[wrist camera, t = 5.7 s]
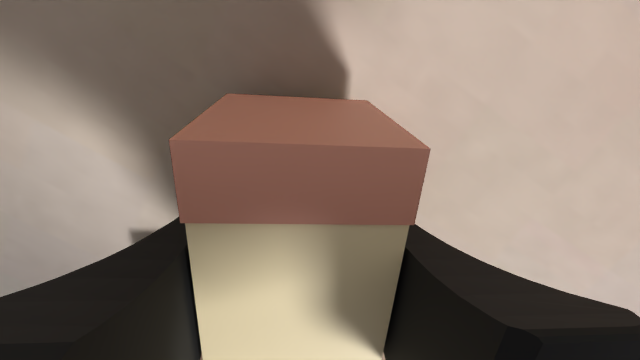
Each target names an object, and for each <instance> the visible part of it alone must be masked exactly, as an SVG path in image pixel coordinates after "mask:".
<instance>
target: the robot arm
mask: <svg viewBox="0 0 640 360" xmlns="http://www.w3.org/2000/svg"><path fill="white" fill-rule="evenodd" d="M383 352H384V356H385V360H640V317H639V316H637V315H636V314H635V313H633V312H632V311H630V310H628V309H624V308H621V307H617V306H614V305H610V304H606V303H603V302H599V301H595V300H592V299H588V298H584V297H581V296H577V295H573V294H570V293H566V292H563V291H560V290H557V289H554V288H551V287H548V286H545V285H542V284H539V283H536V282H533V281H530V280H527V279H525V278H522V277H519V276H516V275H514V274H511V273H509V272H506V271H504V270H502V269H499V268H497V267H494V266H492V265H489V264H487V263H485V262H483V261H480V260H478V259H476V258H474V257H472V256H470V255H468V254H466V253H464V252H462V251H460V250H458V249H456V248H454V247H452V246H450V245H448V244H446V243H445V242H443V241H441V240H440V239H438V238H436V237H435V236H433V235H431V234H430V233H428V232H426V231H425V230H423V229H422V228H420V227H419V226H417V225H415V224H414V225H409V230H408V235H407V239H406V244H405V249H404V254H403V259H402V264H401V268H400V273H399V278H398V283H397V288H396V292H395V297H394V302H393V307H392V312H391V317H390V321H389V326H388V331H387V336H386V341H385V345H384V350H383ZM201 354H202V350H201V343H200V335H199V327H198V319H197V312H196V304H195V296H194V289H193V281H192V273H191V265H190V258H189V250H188V242H187V235H186V227H185V223H180V218H179V217H178V218H177V219H175V220H174V221H172V222H171V223H169V224H167V225H166V226H164V227H162V228H161V229H159V230H157V231H156V232H154V233H152V234H151V235H149V236H147V237H146V238H144V239H142V240H141V241H139V242H137V243H135V244H133V245H131V246H129V247H127V248H125V249H123V250H121V251H119V252H117V253H115V254H113V255H111V256H109V257H107V258H104V259H102V260H100V261H98V262H95V263H93V264H90V265H88V266H85V267H83V268H80V269H78V270H76V271H73V272H71V273H68V274H66V275H63V276H61V277H58V278H56V279H53V280H50V281H47V282H44V283H42V284H39V285H36V286H33V287H30V288H27V289H24V290H21V291H18V292H15V293H12V294H9V295H6V296H3V297H0V360H200V358H201Z"/></svg>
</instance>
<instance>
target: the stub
mask: <svg viewBox="0 0 640 360" xmlns="http://www.w3.org/2000/svg"><path fill="white" fill-rule="evenodd" d="M169 145H170V153H171V160H172V167H173V174H174V182H175V189H176V196H177V204H178V211H179V218H180V223H185V227H186V235H187V242H188V250H189V258H190V265H191V273H192V281H193V289H194V296H195V304H196V312H197V319H198V327H199V335H200V343H201V350H202V358H203V360H382V355H383V350H384V345H385V341H386V336H387V331H388V326H389V321H390V317H391V312H392V307H393V302H394V297H395V292H396V288H397V283H398V278H399V273H400V268H401V264H402V259H403V254H404V249H405V244H406V239H407V235H408V230H409V225H414V224H415V219H416V214H417V210H418V205H419V200H420V196H421V191H422V186H423V182H424V177H425V172H426V168H427V163H428V158H429V154H430V148H429V147H427V146H426V145H425V144H423V143H422V142H421V141H420V140H418V139H417V138H416V137H414V136H413V135H412V134H410V133H409V132H408V131H406V130H405V129H404V128H402V127H401V126H400V125H399V124H397V123H396V122H395V121H393V120H392V119H391V118H389V117H388V116H387V115H385V114H384V113H383V112H381V111H380V110H379V109H378V108H376V107H375V106H374V105H372V104H371V103H370V102H368V101H365V100H346V99H326V98H306V97H286V96H267V95H247V94H226V95H225V96H223V97H222V98H221V99H220V100H218V101H217V102H216V103H215V104H213V105H212V106H211V107H209V108H208V109H207V110H206V111H204V112H203V113H202V114H201V115H199V116H198V117H197V118H196V119H194V120H193V121H192V122H190V123H189V124H188V125H187V126H185V127H184V128H183V129H182V130H180V131H179V132H178V133H177V134H175V135H174V136H173V137H172V138H170V139H169Z"/></svg>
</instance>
